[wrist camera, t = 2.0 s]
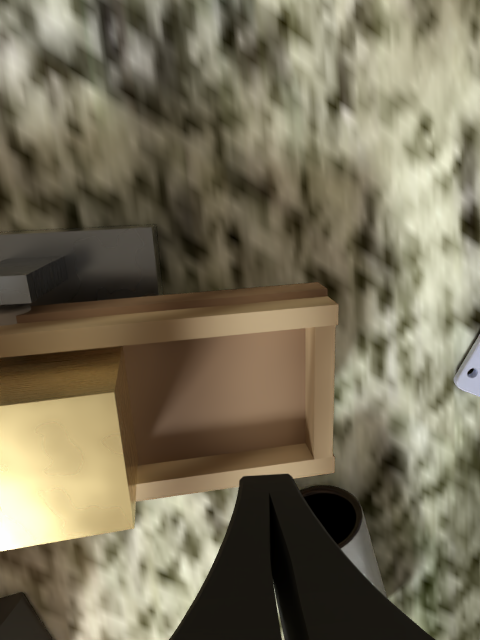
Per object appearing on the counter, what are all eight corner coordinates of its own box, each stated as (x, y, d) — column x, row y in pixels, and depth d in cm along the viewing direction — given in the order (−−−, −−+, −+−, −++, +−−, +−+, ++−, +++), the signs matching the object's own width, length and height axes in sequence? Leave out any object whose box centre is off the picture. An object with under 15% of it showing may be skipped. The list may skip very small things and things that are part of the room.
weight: (122, 345, 17) (114, 392, 13) (137, 457, 19) (134, 528, 15) (-19, 359, 16) (-71, 415, 12) (9, 476, 18) (-30, 556, 14)
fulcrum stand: (155, 224, 20) (133, 240, 15) (181, 471, 24) (169, 546, 19) (-72, 235, 20) (-167, 255, 15) (-8, 482, 24) (-67, 559, 19)
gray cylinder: (306, 659, 26) (254, 524, 23) (356, 603, 28) (315, 472, 25) (368, 724, 22) (317, 573, 19) (420, 653, 25) (382, 508, 21)
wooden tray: (317, 279, 19) (338, 293, 16) (315, 447, 21) (334, 480, 19) (-349, 334, 16) (-441, 362, 13) (-257, 524, 18) (-320, 576, 16)
